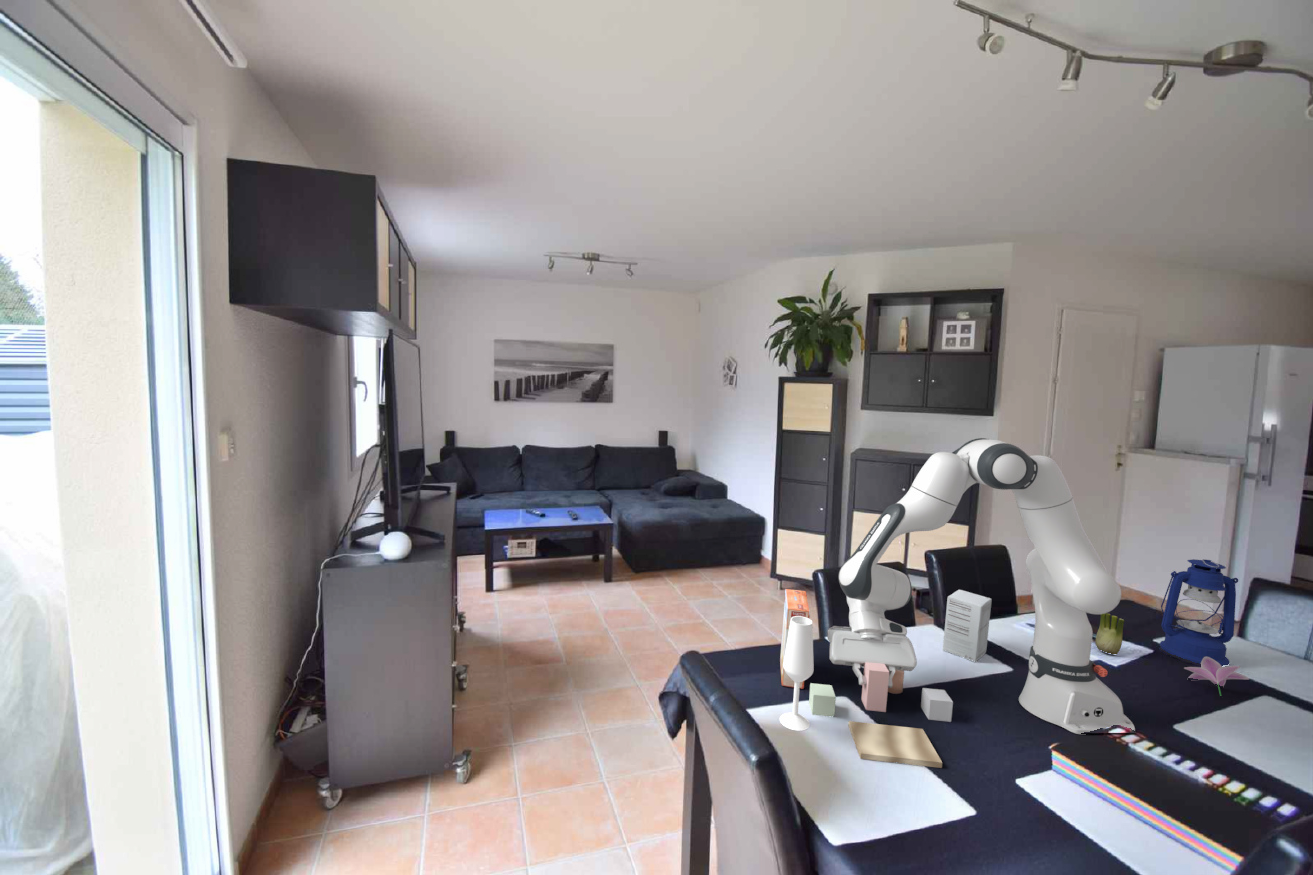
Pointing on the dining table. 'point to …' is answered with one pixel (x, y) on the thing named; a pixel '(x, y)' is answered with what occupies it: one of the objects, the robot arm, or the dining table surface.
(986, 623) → the supplement box
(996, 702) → the dining table surface
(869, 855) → the dining table surface
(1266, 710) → the dining table surface
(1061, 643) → the robot arm
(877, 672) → the rose block
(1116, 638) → the fennel bulb
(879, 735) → the pine board
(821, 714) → the sage painted block
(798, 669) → the champagne flute
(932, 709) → the grey plastic block
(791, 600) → the cracker box
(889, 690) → the terracotta cylinder
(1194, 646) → the lantern
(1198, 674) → the lily
